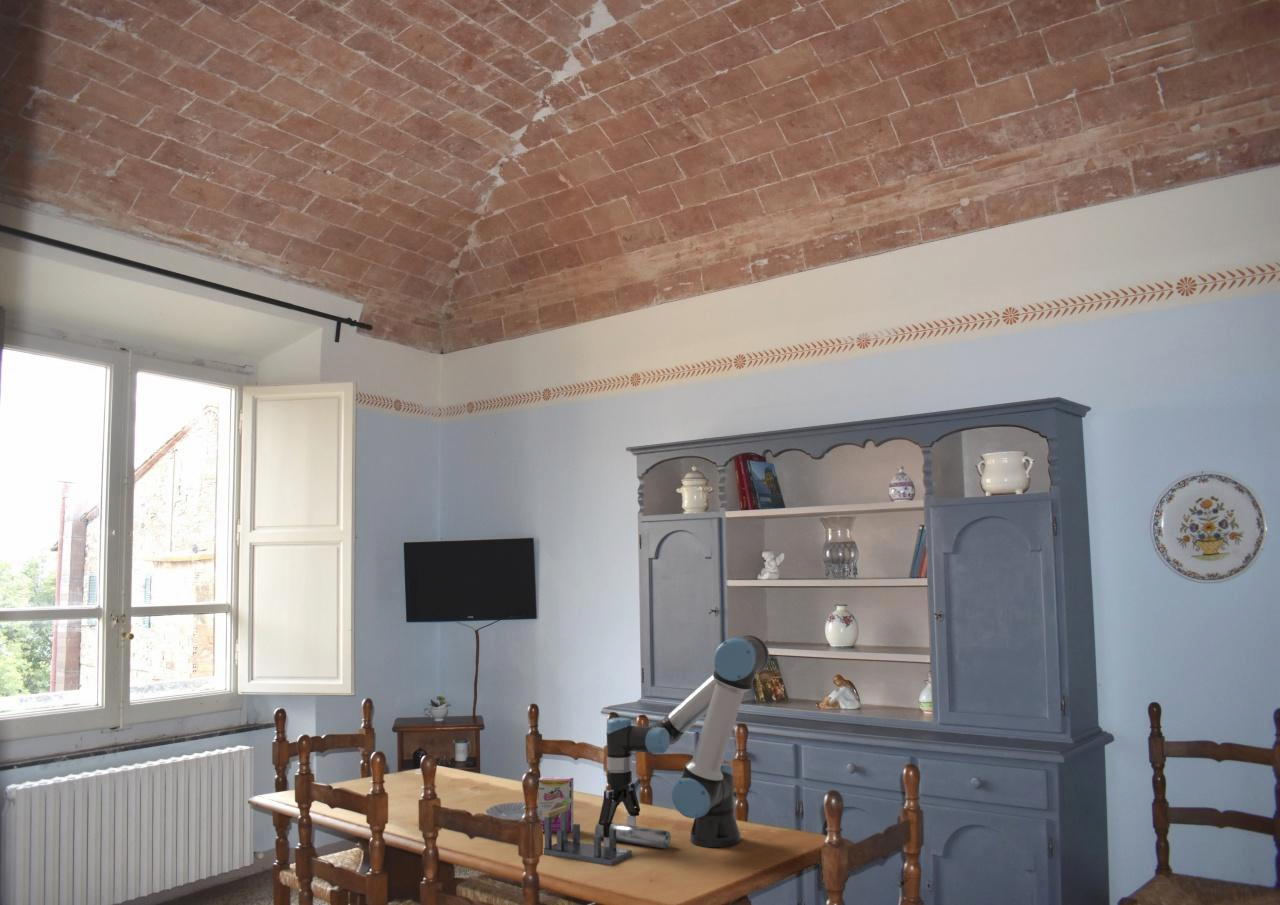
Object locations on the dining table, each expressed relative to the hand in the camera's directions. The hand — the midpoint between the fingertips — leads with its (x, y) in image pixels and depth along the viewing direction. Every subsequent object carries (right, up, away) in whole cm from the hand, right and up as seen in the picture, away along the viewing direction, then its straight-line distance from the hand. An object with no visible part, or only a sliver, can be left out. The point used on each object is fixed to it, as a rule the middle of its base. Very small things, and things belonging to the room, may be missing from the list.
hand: (620, 843), depth 308 cm
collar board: (-9, +1, -12) cm, 15 cm away
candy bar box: (-21, -3, +16) cm, 26 cm away
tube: (+3, +1, -1) cm, 3 cm away
